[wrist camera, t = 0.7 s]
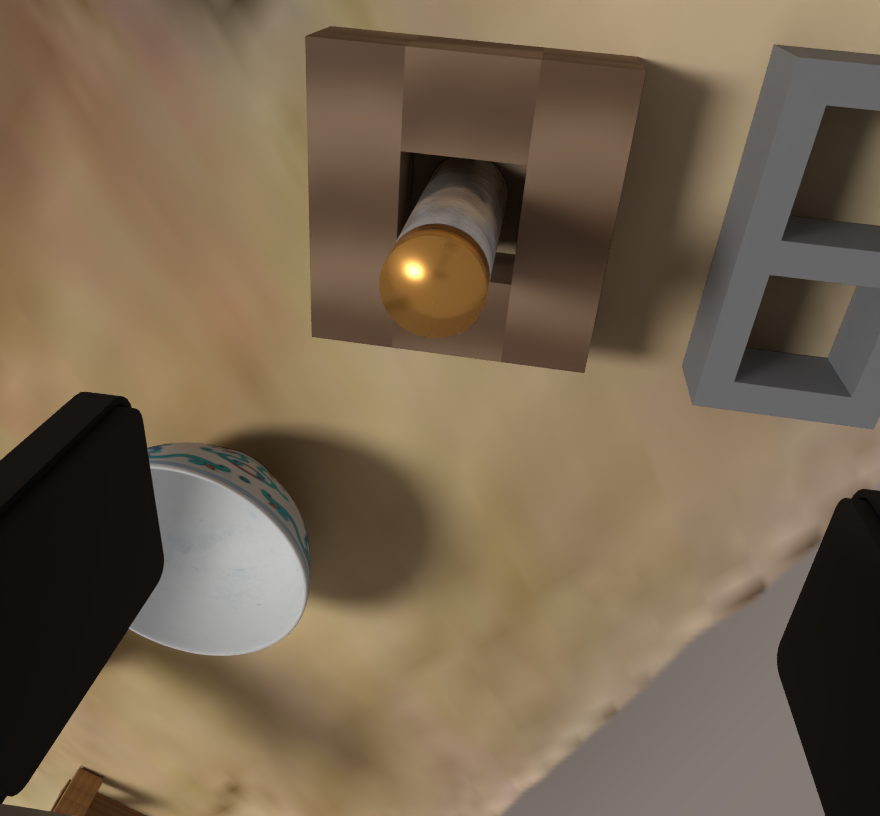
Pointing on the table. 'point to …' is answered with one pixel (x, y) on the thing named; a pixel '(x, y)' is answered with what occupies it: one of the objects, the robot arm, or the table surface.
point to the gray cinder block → (791, 258)
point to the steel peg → (446, 250)
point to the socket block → (473, 137)
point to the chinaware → (223, 553)
